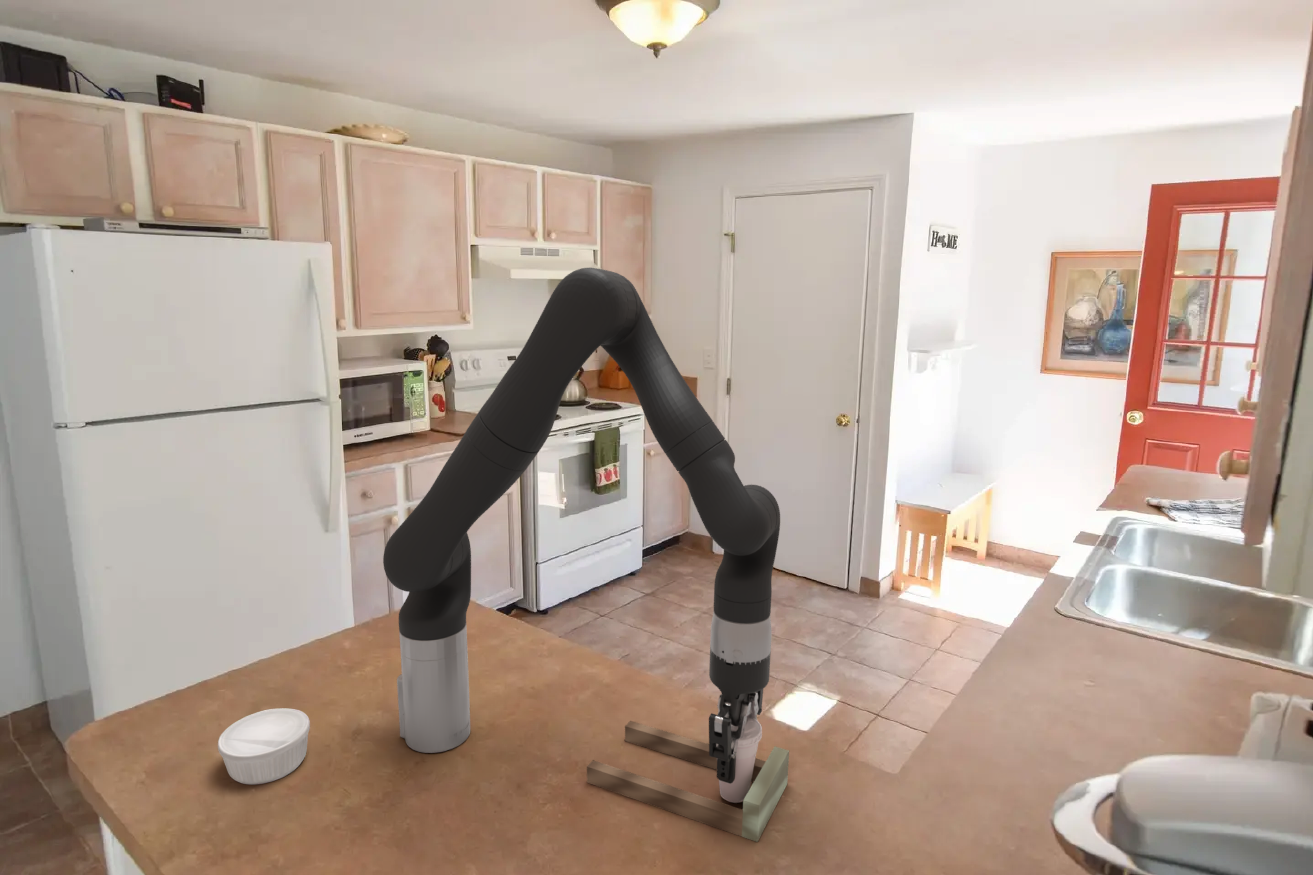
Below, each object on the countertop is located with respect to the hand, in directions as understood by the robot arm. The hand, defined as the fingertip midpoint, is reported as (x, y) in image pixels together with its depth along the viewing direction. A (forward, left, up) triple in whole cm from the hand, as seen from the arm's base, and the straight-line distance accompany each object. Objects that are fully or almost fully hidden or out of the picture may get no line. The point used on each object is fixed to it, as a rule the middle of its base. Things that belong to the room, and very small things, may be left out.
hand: (735, 764), depth 98 cm
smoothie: (0, 0, -4) cm, 4 cm away
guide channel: (-7, 0, -5) cm, 8 cm away
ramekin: (-60, -23, -5) cm, 64 cm away
